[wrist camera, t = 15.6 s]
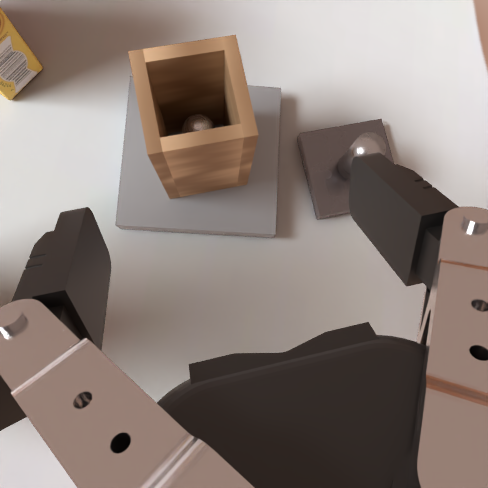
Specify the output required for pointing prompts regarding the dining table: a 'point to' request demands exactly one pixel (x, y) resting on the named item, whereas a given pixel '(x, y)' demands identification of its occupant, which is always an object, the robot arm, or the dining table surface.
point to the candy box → (15, 60)
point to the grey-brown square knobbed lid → (338, 161)
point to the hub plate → (209, 203)
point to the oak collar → (195, 102)
